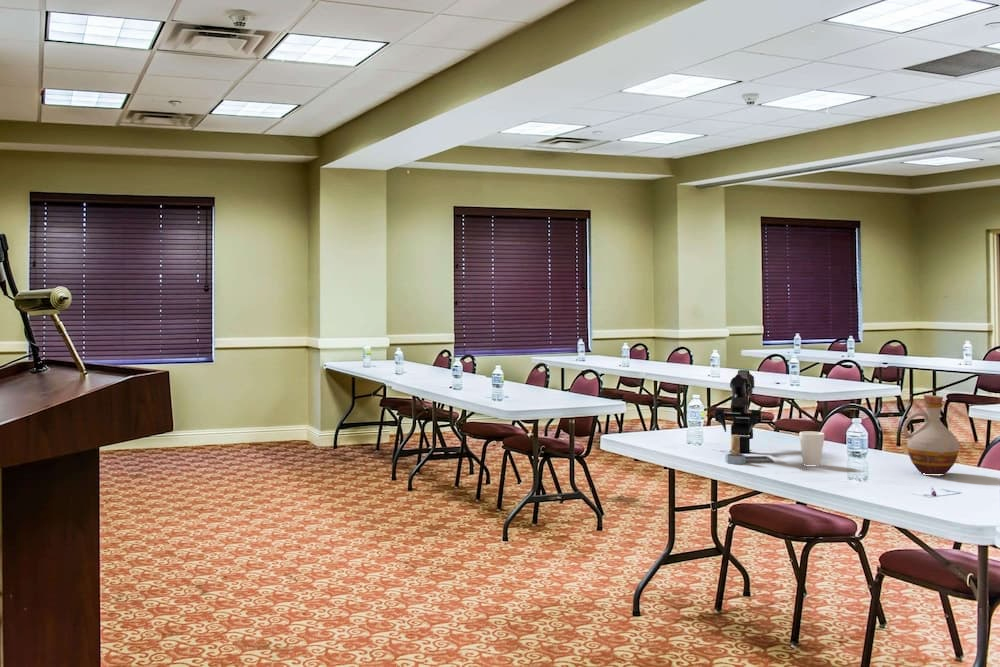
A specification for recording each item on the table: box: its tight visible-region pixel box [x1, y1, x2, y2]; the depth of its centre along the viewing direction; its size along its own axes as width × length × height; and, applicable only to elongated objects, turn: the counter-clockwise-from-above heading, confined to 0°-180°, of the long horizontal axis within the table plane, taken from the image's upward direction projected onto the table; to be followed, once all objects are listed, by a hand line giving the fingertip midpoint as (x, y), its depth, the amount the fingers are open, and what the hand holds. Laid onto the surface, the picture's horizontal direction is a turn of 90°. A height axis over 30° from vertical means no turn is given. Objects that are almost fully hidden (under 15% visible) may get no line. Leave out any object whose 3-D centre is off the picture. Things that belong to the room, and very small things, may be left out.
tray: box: [745, 455, 775, 464], centre depth 373 cm, size 10×11×2 cm
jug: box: [902, 394, 960, 475], centre depth 346 cm, size 20×18×30 cm
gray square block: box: [725, 453, 746, 465], centre depth 369 cm, size 7×7×4 cm
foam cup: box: [798, 430, 825, 466], centre depth 366 cm, size 10×9×13 cm
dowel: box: [730, 434, 741, 456], centre depth 368 cm, size 3×3×11 cm
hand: (736, 431), depth 374 cm, fingers open, 9 cm apart
